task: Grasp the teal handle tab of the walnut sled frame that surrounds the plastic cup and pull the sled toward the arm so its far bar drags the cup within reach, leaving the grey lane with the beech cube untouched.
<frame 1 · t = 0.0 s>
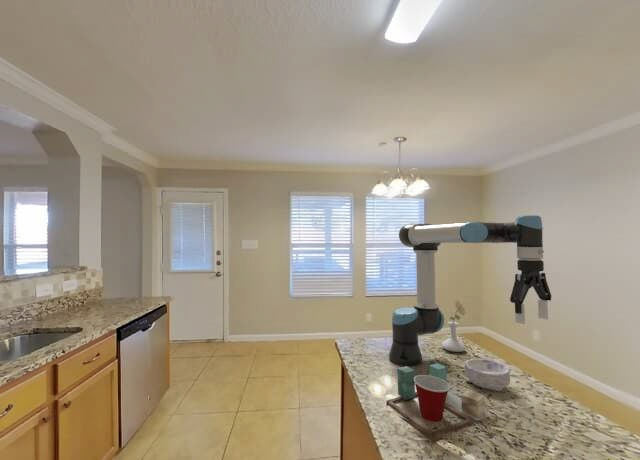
hand: (532, 320, 104), 28 cm above the countertop, fingers open, 13 cm apart
divider rail: (447, 410, 98), on the countertop
paper bowls: (487, 386, 114), on the countertop
flower in vase: (454, 350, 154), on the countertop
sled A: (425, 397, 95), point 6 cm above the countertop, slide at 0.0 cm
strip B: (456, 390, 100), point 5 cm above the countertop, slide at 0.0 cm, touching beech cube
beech cube: (473, 411, 95), point 1 cm above the countertop, touching strip B
plastic cup: (432, 421, 93), resting in sled A
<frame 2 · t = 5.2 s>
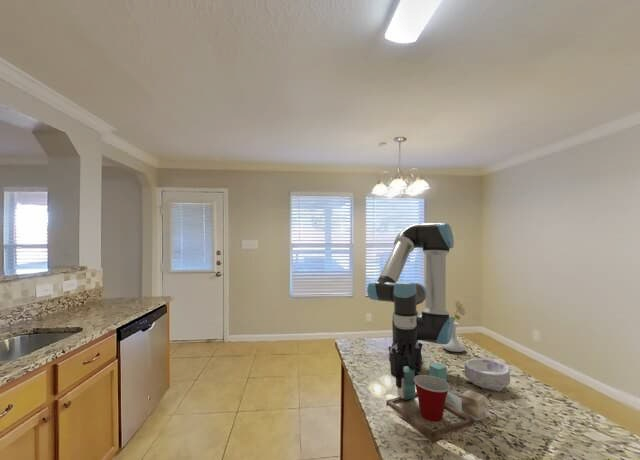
hand: (406, 394, 103), 3 cm above the countertop, fingers closed on sled A, 4 cm apart
sled A: (425, 397, 95), point 6 cm above the countertop, slide at 0.0 cm, touching gripper
everything else where it was.
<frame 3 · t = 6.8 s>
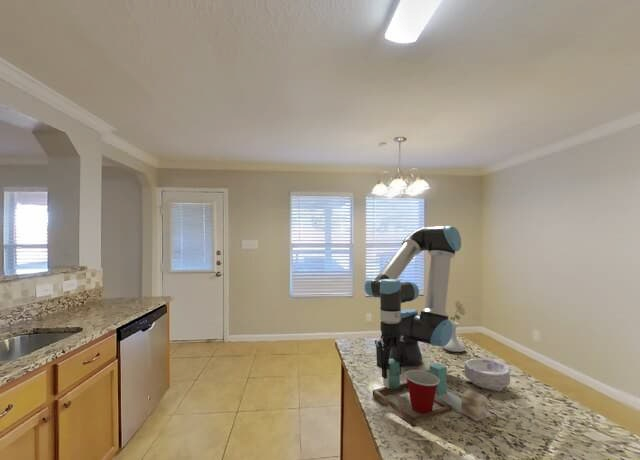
hand: (391, 385, 110), 3 cm above the countertop, fingers closed on sled A, 4 cm apart
sled A: (408, 386, 102), point 6 cm above the countertop, slide at 7.8 cm, touching gripper
plastic cup: (422, 413, 96), resting in sled A
everything else where it was.
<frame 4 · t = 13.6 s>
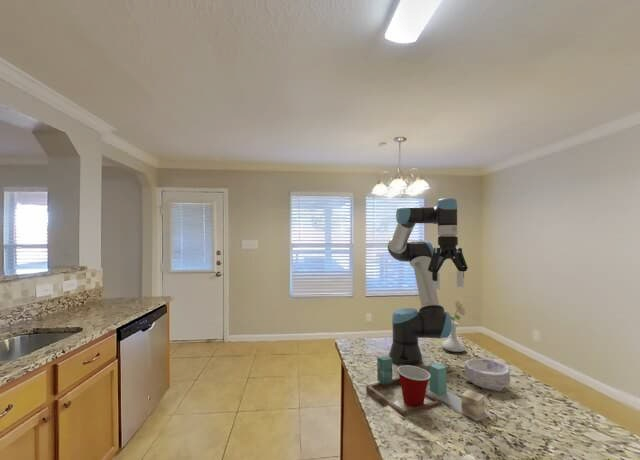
hand: (448, 288, 122), 37 cm above the countertop, fingers open, 13 cm apart
sled A: (400, 381, 106), point 6 cm above the countertop, slide at 11.8 cm
plastic cup: (414, 407, 100), resting in sled A
everything else where it was.
at the end: sled A slide at 11.8 cm; plastic cup moved 8.2 cm from its start; plastic cup tilted 0° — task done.
